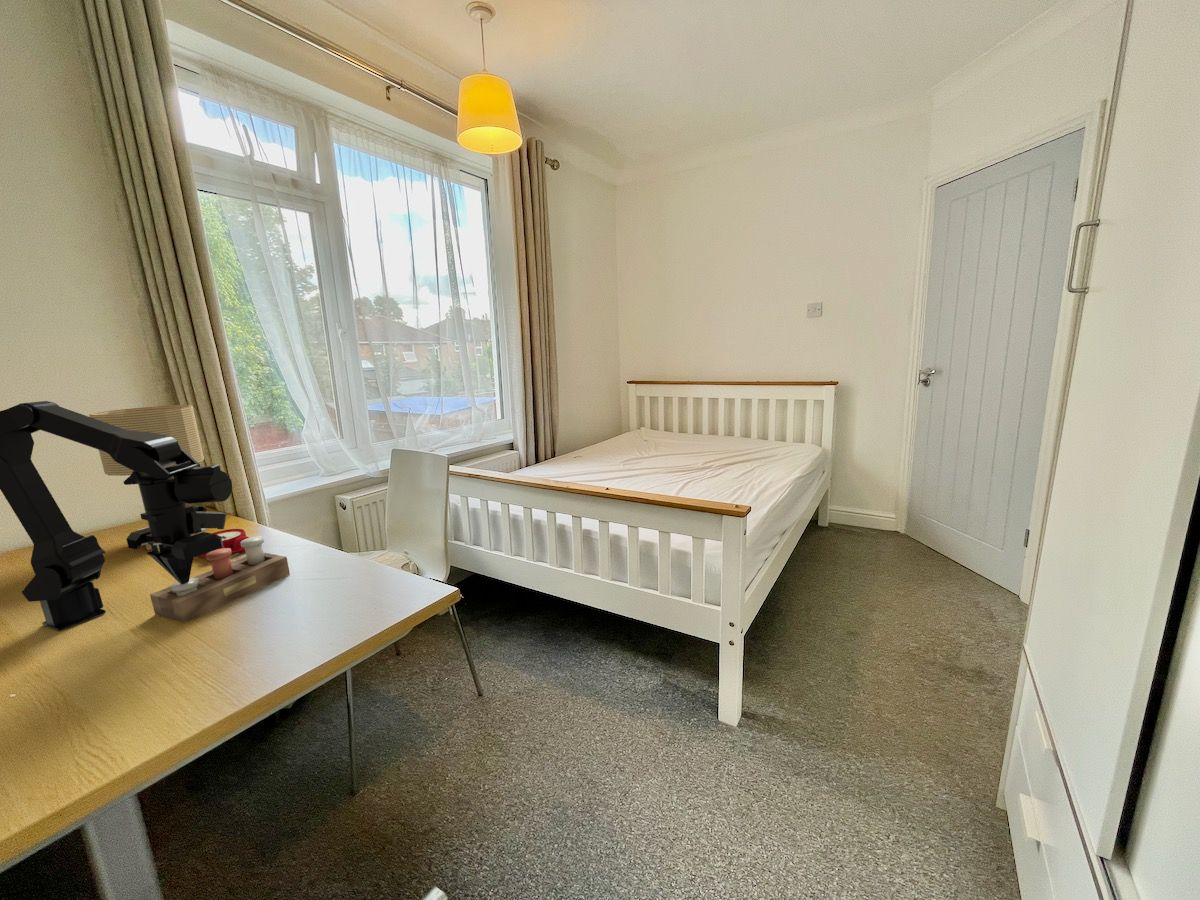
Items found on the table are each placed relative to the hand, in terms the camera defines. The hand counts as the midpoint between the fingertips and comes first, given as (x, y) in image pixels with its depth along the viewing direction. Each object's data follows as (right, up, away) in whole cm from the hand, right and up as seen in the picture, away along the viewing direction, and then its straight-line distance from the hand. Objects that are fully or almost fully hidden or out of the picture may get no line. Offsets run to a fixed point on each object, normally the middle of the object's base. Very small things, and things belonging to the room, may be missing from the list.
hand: (184, 582), depth 90 cm
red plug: (+2, 0, +6) cm, 7 cm away
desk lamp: (-38, +1, +40) cm, 55 cm away
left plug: (0, -5, +1) cm, 5 cm away
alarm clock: (-14, -1, +29) cm, 32 cm away
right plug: (+5, +1, +12) cm, 13 cm away
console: (+3, -4, +7) cm, 9 cm away
